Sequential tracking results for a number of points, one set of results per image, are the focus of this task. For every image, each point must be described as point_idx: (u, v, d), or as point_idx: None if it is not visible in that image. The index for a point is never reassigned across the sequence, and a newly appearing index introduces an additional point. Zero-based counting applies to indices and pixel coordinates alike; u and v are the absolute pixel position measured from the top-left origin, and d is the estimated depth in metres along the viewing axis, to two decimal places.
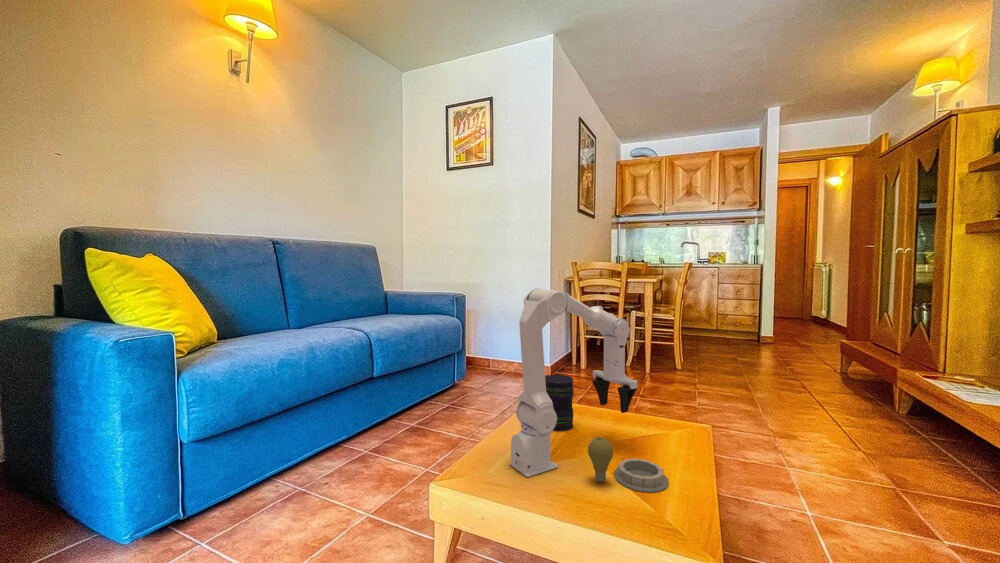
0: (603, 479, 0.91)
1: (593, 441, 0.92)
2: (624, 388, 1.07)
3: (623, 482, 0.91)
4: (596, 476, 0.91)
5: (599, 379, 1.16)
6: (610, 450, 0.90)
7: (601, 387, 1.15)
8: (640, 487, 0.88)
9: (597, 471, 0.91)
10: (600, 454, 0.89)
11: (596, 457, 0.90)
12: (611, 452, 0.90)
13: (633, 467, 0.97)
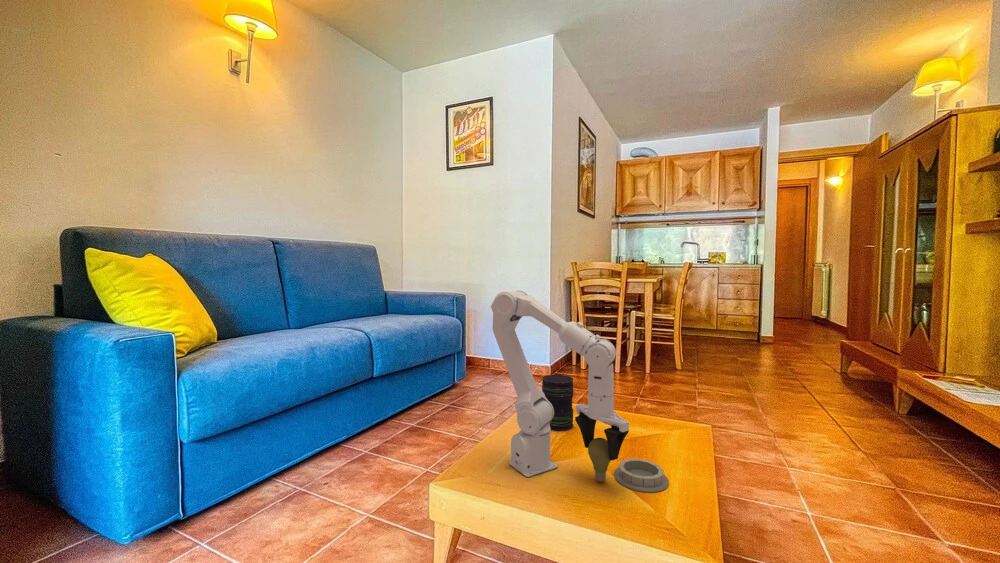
0: (603, 479, 0.91)
1: (593, 441, 0.92)
2: (612, 430, 0.86)
3: (623, 482, 0.91)
4: (596, 476, 0.91)
5: (583, 416, 0.95)
6: None
7: (586, 426, 0.94)
8: (640, 487, 0.88)
9: (597, 471, 0.91)
10: (600, 454, 0.89)
11: (596, 457, 0.90)
12: None
13: (633, 467, 0.97)
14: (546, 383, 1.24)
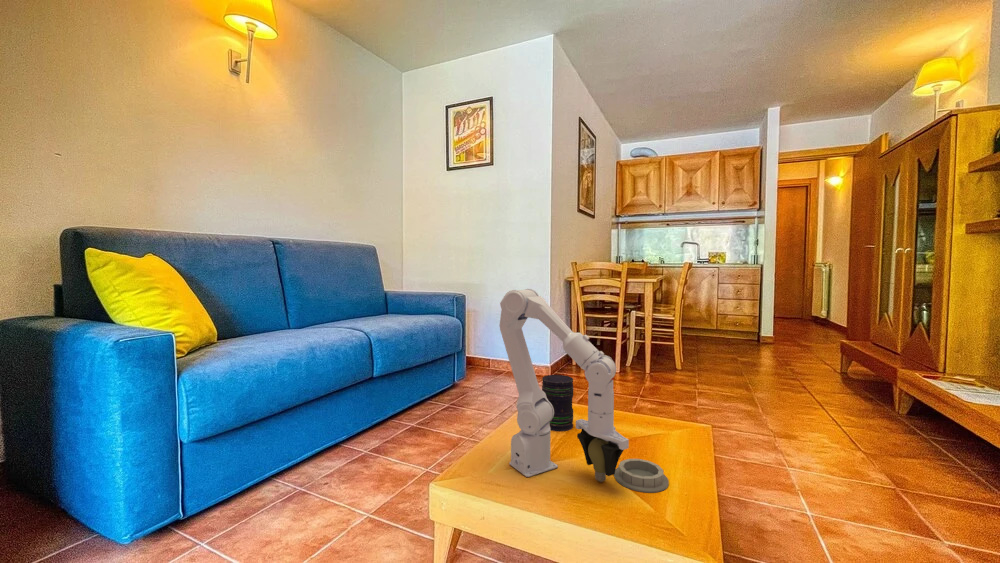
0: (603, 479, 0.91)
1: (593, 441, 0.92)
2: (609, 447, 0.87)
3: (623, 482, 0.91)
4: (596, 476, 0.91)
5: (583, 431, 0.95)
6: None
7: (588, 443, 0.94)
8: (640, 487, 0.88)
9: (597, 471, 0.91)
10: (600, 454, 0.89)
11: (596, 457, 0.90)
12: None
13: (633, 467, 0.97)
14: (546, 383, 1.24)
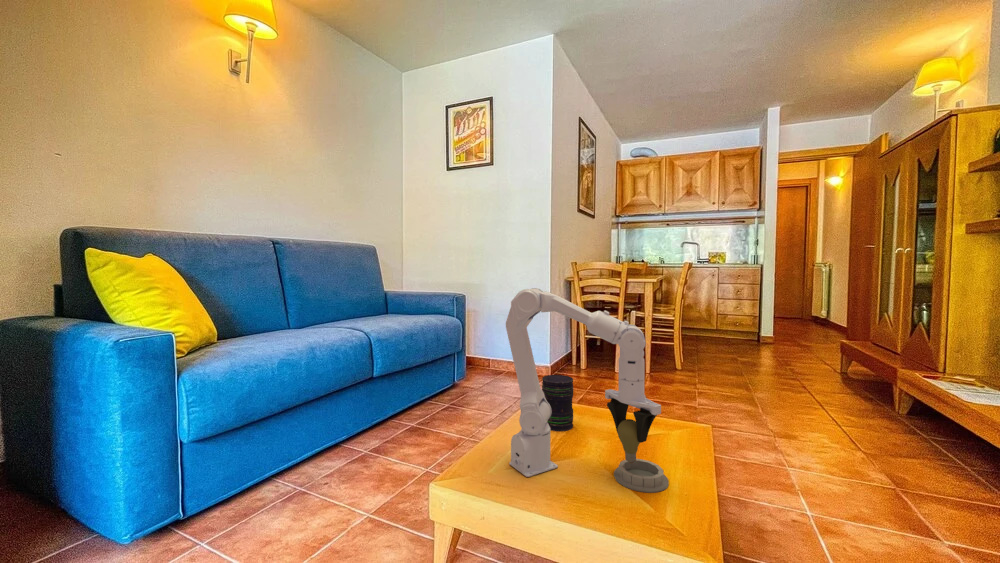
0: (633, 460, 0.92)
1: (622, 423, 0.92)
2: (642, 413, 0.88)
3: (623, 482, 0.91)
4: (626, 457, 0.92)
5: (613, 401, 0.96)
6: None
7: (618, 411, 0.95)
8: (640, 487, 0.88)
9: (627, 452, 0.92)
10: (630, 435, 0.90)
11: (626, 438, 0.90)
12: None
13: (633, 467, 0.97)
14: (546, 383, 1.24)
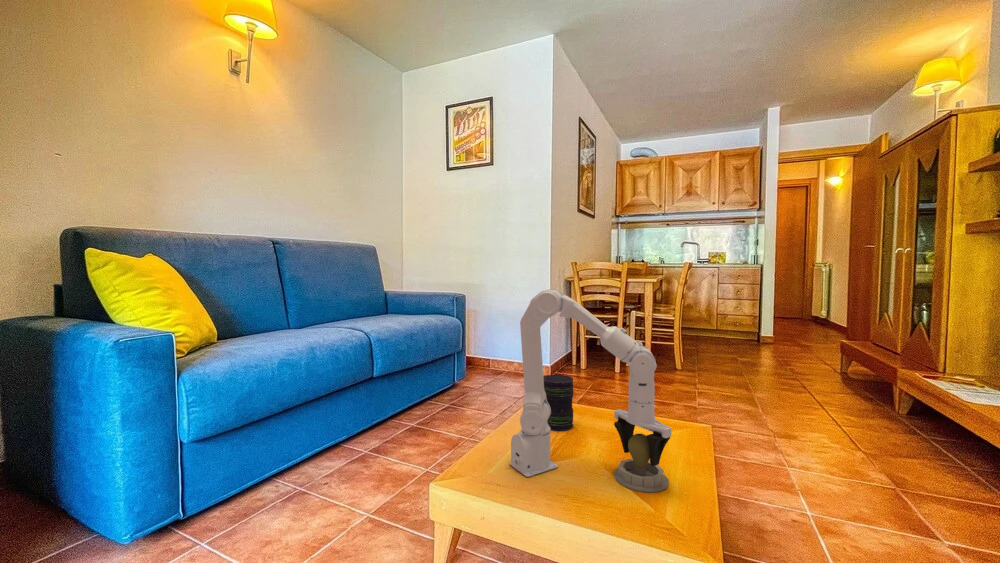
0: (643, 474, 0.92)
1: (633, 437, 0.93)
2: (655, 437, 0.88)
3: (623, 482, 0.91)
4: (636, 471, 0.93)
5: (622, 421, 0.97)
6: None
7: (625, 431, 0.96)
8: (640, 487, 0.88)
9: (637, 466, 0.92)
10: (641, 449, 0.90)
11: (636, 452, 0.91)
12: None
13: (633, 467, 0.97)
14: (546, 383, 1.24)
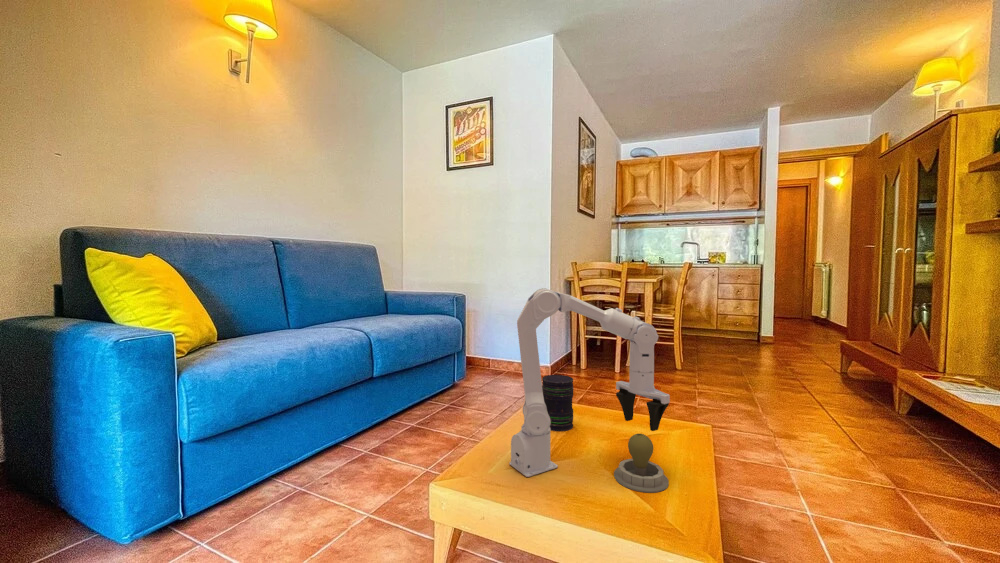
0: (643, 474, 0.92)
1: (633, 437, 0.93)
2: (654, 403, 0.94)
3: (623, 482, 0.91)
4: (636, 471, 0.93)
5: (624, 391, 1.03)
6: (651, 446, 0.91)
7: (626, 401, 1.02)
8: (640, 487, 0.88)
9: (637, 466, 0.92)
10: (641, 449, 0.90)
11: (636, 452, 0.91)
12: (652, 448, 0.91)
13: (633, 467, 0.97)
14: (546, 383, 1.24)
